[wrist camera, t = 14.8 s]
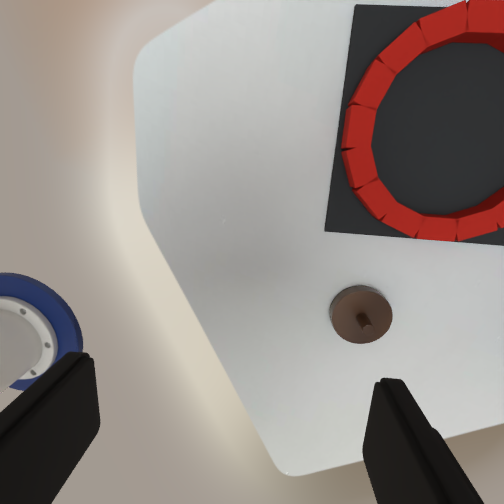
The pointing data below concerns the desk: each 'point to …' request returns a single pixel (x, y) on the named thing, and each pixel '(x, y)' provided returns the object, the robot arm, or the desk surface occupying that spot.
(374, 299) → the ring holder
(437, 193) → the mat
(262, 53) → the desk surface
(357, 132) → the ring
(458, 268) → the desk surface
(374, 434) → the robot arm
